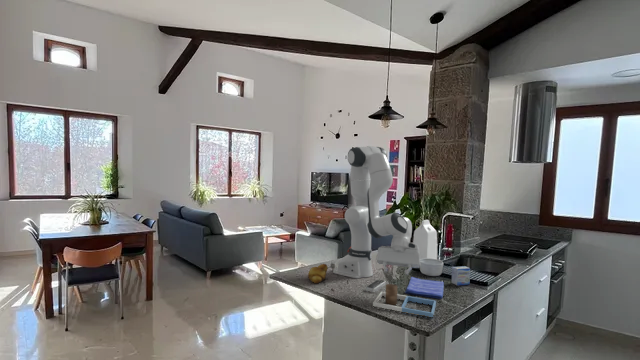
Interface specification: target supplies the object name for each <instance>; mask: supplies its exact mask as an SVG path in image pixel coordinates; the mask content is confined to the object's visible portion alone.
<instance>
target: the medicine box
mask: <svg viewBox="0 0 640 360" xmlns="http://www.w3.org/2000/svg"><path fill="white" fill-rule="evenodd" d="M470 280H471V268H470V267H468V266H465V265H464V266H463V265H462V266H452V267H451V284H453V285H456V286H468V285H470Z"/></svg>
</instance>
